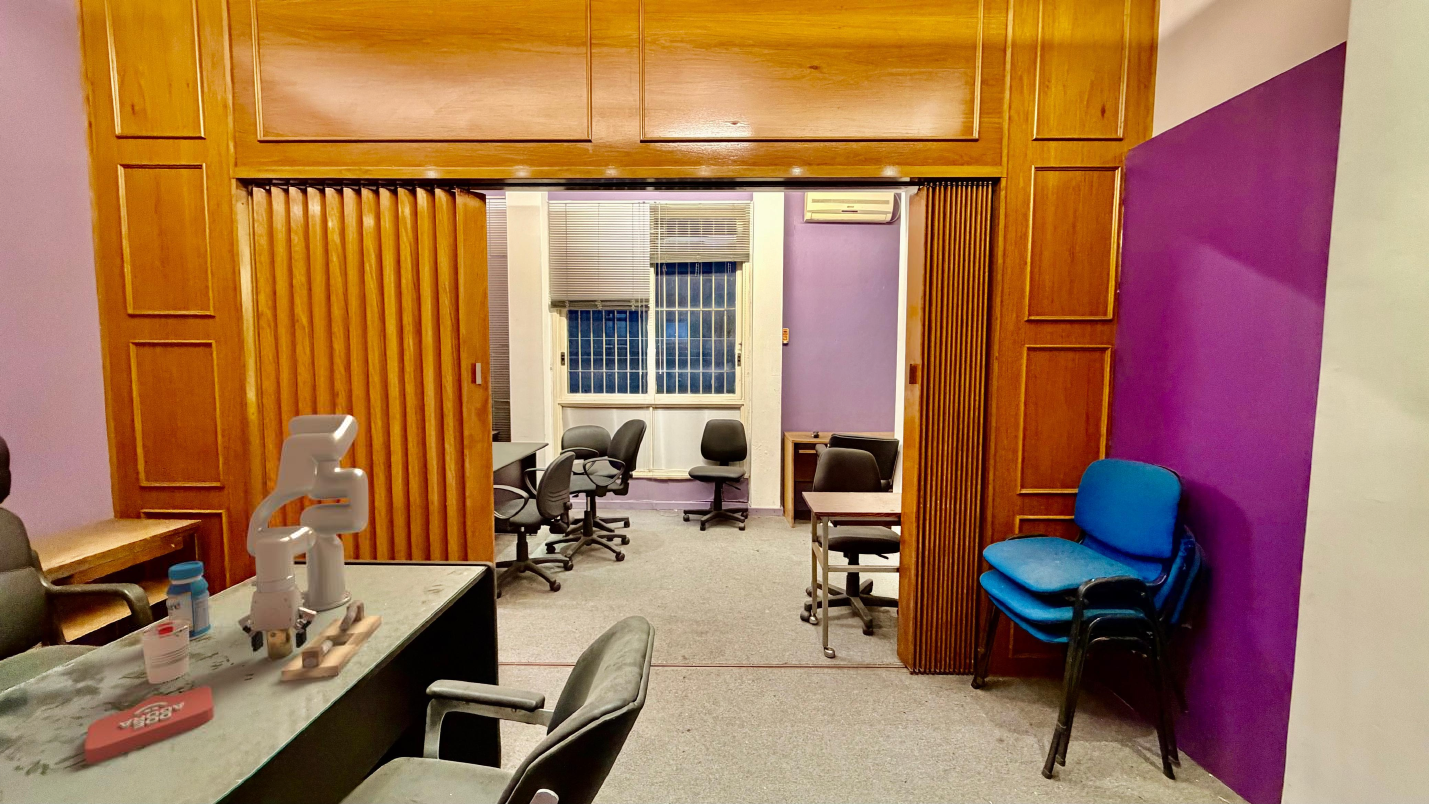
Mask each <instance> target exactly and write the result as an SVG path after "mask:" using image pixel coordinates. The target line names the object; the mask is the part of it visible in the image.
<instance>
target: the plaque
mask: <svg viewBox="0 0 1429 804" xmlns="http://www.w3.org/2000/svg"><path fill="white" fill-rule="evenodd" d="M214 711H215V710H214V701H213V696H212V689H211V686H210V687H209V686H200V687H197V688H193V689H190V690H187V691H184V692H180V693H177V694H171V695H169V694H168V695H153V696H150V697H149V698H147V699H144V700H143V701H142V702H140V703H138V704H137V705H135V706H133V707H132V708H130V709H127V710H124V711H120V712H117V713H114V714H112V715H109V716H106V717H102V718H99V719H97V720H96V721H94V722H92V723H91V724H89V726H88V727H87V733H86V738H85V744H84V751H85V752H84V753H85V761H86V763H87V764H93V763H99V762H102V761H105V760H107V759H110V758H113V757H116V756H119V755H121V754H124V753H127V752H130V751H132V749H133V750H135V749H134V748H136V749H138V748H137V747H139V746H141V747H143V746H142V745H144V746H147V745H150V744H152V743H155V742H157V741H160V740H164V739H167V738H169V737H172V736H174V735H178V734H180V733H183V732H186V731H189V730H192V729H194V728H197V727H200V726H202V725H204V724H207V723H208V722H209V723H210V721H212V720H213V719H214V716H215V712H214ZM146 744H147V745H146ZM139 748H140V747H139Z"/></svg>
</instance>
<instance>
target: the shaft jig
mask: <svg viewBox="0 0 1429 804" xmlns="http://www.w3.org/2000/svg"><path fill="white" fill-rule="evenodd" d="M381 625H382V615H381V614H380V615H379V614H378V615H377V614H376V615H366V616H365V602H362V601H361V600H359V599H354V600H353V601H352V602H351V603H349V604H348V605H347V606H346V613H345V616H344V617H343V618H334V619H333V620H332V621H331V622H330V623H329V624H328V625H327V626H326V627H325V628H324V629H323V630H322V631H321V632H320V633H319V634H317V636H316V637H315V638H313V639H312V641H310V643H309V644H308V645H306V646H305V647H304V648H303V649H302V650H301V651H300V652H299V653H298V654H297V655H296V656H295V657H294V658H293V659H292V660H291V661H290V662H289V663H288V664H287V665H286V666H285V667H284V668H282V670H280V673H281V674H280V675H281V681H283V682H284V681H295V680H304V679H313V678H314V677H315V678H323V677H322V676H325V677H327V676H326V675H334V676H337V675H336V674H339V673H340V674H341V673H342V671H343V670H344V669H345V668H346V666H347V665H348V664H349V663H350V662H349V661H351V660H352V659H353V658H354V657H355V656H356V654H357V653H358V652H359V651H360V650H361V649H362V647H363V646H364V645H365V644H366V643H367V641H368V640H369V639H370V638H371V637H372V636H373V634H374V633H375V631H376V630H378V628H380V626H381ZM369 637H370V638H369ZM368 638H369V639H368ZM367 639H368V640H367ZM366 640H367V641H366ZM344 642H346V643H345V644H344ZM333 643H335V644H342V643H343V644H344V645H335V646H333V645H334V644H333ZM364 643H365V644H364ZM363 644H364V645H363ZM362 645H363V646H362ZM361 646H362V647H361ZM359 649H360V650H359ZM358 650H359V651H358ZM357 651H358V652H357ZM356 652H357V653H356ZM354 655H355V656H354ZM353 656H354V657H353ZM352 657H353V658H352ZM351 658H352V659H351ZM350 659H351V660H350ZM348 662H349V663H348ZM347 663H348V664H347ZM346 664H347V665H346ZM344 667H345V668H344ZM343 668H344V669H343ZM342 669H343V670H342ZM341 670H342V671H341ZM340 674H339V675H340Z"/></svg>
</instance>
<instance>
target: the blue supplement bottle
mask: <svg viewBox="0 0 1429 804" xmlns="http://www.w3.org/2000/svg"><path fill="white" fill-rule="evenodd" d="M167 572H168V580H169V581H170V582H171V583H170V584H169V586H168V587H167V589H166V594H165V596H167V599H166V603H165V604H166V607H167V613H168V621H173V620H189V621H190V624H189V641H192V640H195V639H198V638H201V637H203V636H205V635H207V634H208V633H209V632H210V631H211V629H212V625H211V622H210V620H211V619H210V605H209V604H210V603H209V598H210V592H209V590H208V587H209V584H208V582H207V581H206V579H205V578H204V577H203V575H204V564H203V561H198V560H197V561H195V560H194V561H188V562H182V563H179V564H176V565H172V566H171V567H169V568H168V571H167Z"/></svg>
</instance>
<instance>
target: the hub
mask: <svg viewBox="0 0 1429 804" xmlns="http://www.w3.org/2000/svg"><path fill="white" fill-rule="evenodd" d="M265 632H266V649H267V651H266V652H267V660H269V661H277V660H282V659H285V658H287V657H289V656H291V654H292V655H293V653H294V652H293V651H294V650H293V648H294V647H293V634H292V633H293V632H292V628H289V629H280V630H268V631H265Z"/></svg>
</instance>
